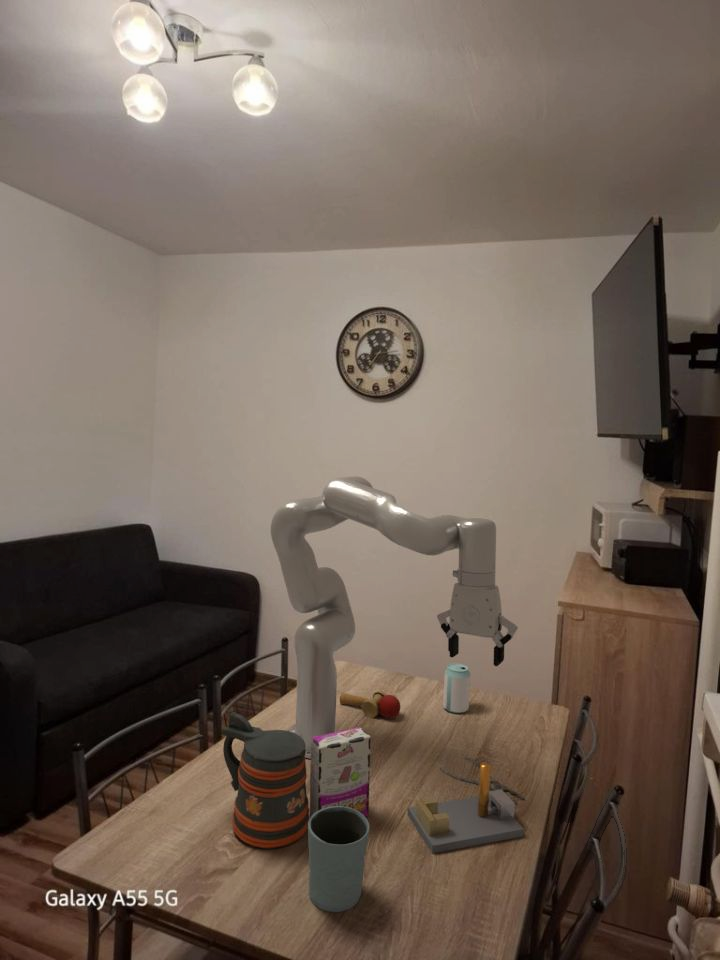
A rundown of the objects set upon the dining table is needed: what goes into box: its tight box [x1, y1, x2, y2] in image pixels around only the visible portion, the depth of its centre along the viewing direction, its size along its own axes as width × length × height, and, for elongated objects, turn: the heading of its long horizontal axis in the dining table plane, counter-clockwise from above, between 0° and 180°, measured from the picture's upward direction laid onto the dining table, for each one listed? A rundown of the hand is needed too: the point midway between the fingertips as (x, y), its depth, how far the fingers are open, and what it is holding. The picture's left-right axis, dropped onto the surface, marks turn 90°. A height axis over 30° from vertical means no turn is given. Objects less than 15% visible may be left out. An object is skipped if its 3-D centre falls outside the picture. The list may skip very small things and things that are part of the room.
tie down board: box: [407, 795, 525, 854], centre depth 123 cm, size 19×12×2 cm, turn 108°
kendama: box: [339, 690, 401, 719], centre depth 172 cm, size 8×6×18 cm
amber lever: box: [478, 761, 498, 817], centre depth 124 cm, size 7×2×10 cm, turn 108°
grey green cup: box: [307, 806, 370, 913], centre depth 103 cm, size 10×10×12 cm
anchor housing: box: [488, 790, 516, 821], centre depth 125 cm, size 3×5×3 cm, turn 18°
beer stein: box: [221, 711, 310, 849], centre depth 121 cm, size 19×15×20 cm
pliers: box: [439, 756, 526, 806], centre depth 140 cm, size 10×1×20 cm
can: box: [442, 663, 471, 714], centre depth 175 cm, size 7×7×12 cm
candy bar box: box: [309, 726, 372, 819], centre depth 124 cm, size 11×5×16 cm, turn 117°
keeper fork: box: [415, 796, 450, 836], centre depth 121 cm, size 4×7×3 cm, turn 18°
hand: (475, 659), depth 131 cm, fingers open, 9 cm apart
